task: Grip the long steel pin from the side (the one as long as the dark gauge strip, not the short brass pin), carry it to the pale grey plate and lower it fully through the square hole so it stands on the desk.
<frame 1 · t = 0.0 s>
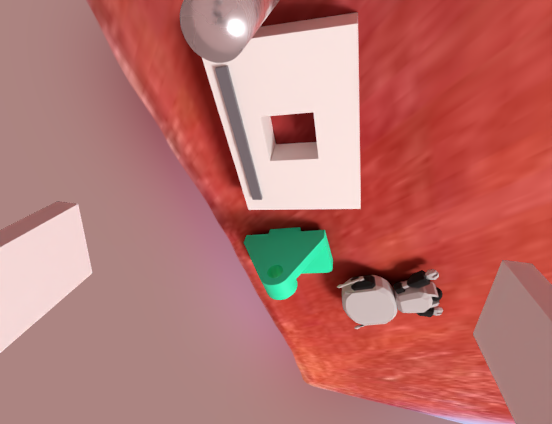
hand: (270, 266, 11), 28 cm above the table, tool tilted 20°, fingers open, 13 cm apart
camera mount: (291, 243, 53), on the table
hole plate: (295, 122, 38), on the table
robot toy: (389, 284, 55), on the table
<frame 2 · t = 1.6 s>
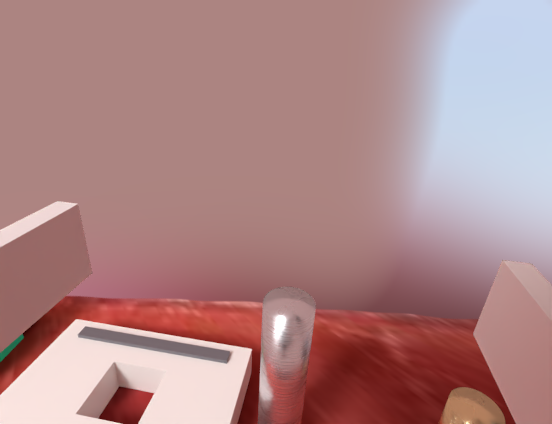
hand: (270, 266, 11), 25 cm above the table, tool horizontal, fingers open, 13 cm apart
hole plate: (129, 416, 32), on the table
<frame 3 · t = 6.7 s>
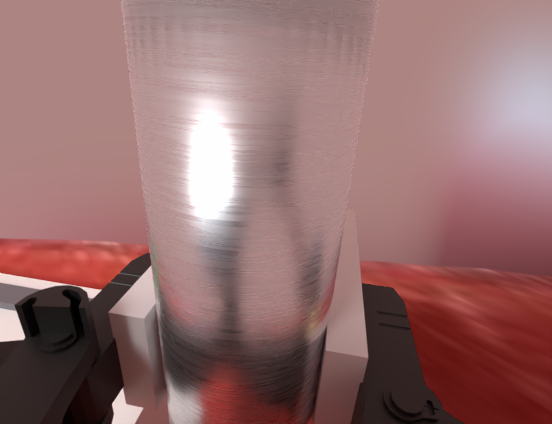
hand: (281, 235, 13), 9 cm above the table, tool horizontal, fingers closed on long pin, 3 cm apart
when the fingers open (10 cm above the table, at t = 12.0 s): long pin drops 1 cm, resting in hole plate.
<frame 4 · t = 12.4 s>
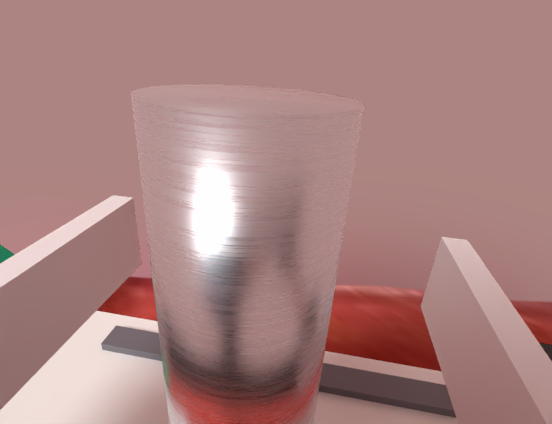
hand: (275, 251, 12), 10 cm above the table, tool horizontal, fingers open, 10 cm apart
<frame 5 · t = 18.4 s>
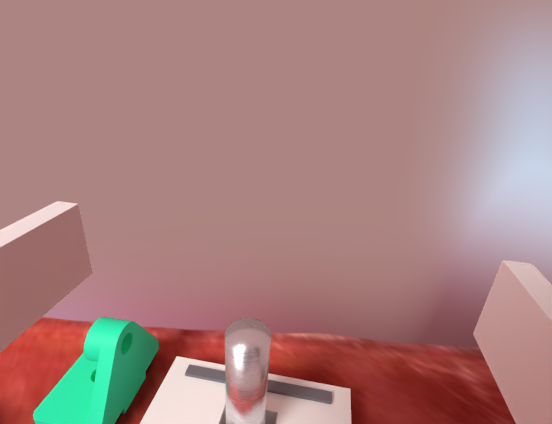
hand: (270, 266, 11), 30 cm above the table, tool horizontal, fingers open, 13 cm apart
camera mount: (105, 391, 39), on the table
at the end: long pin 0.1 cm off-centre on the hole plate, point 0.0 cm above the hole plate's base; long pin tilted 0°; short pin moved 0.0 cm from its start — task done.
